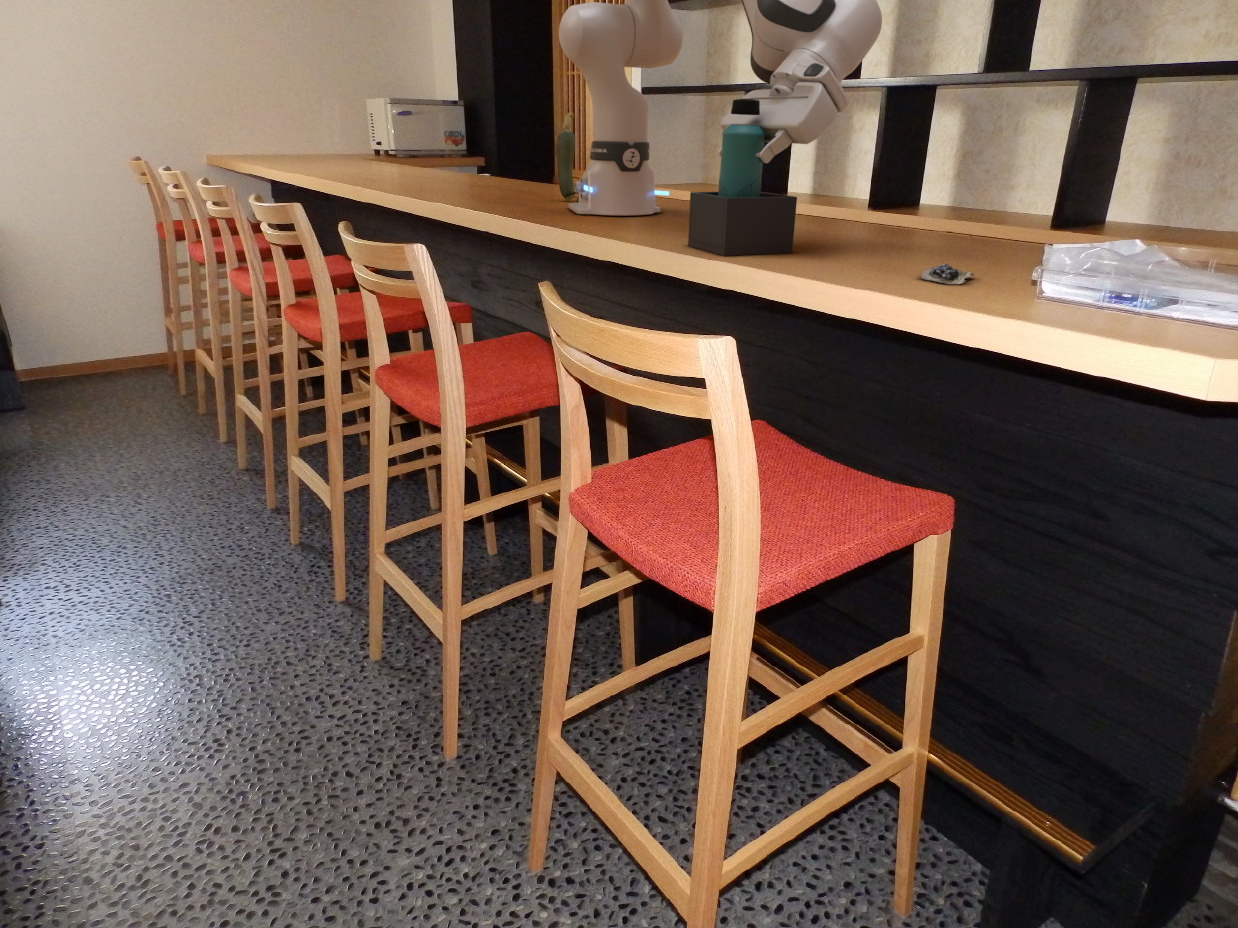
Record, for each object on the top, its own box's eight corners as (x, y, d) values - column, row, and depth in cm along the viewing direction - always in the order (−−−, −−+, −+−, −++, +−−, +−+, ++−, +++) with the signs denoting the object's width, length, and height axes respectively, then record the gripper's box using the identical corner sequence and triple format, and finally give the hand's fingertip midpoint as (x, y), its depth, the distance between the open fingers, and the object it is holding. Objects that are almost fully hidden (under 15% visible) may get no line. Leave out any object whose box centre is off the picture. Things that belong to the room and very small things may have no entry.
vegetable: (555, 202, 202) (554, 111, 194) (559, 200, 206) (558, 112, 198) (573, 202, 201) (573, 112, 194) (577, 201, 205) (577, 112, 198)
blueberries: (971, 275, 108) (974, 260, 107) (982, 286, 101) (984, 270, 100) (916, 273, 109) (918, 258, 109) (923, 283, 102) (925, 267, 101)
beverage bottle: (755, 245, 125) (769, 99, 117) (711, 242, 127) (722, 98, 118) (757, 238, 131) (771, 99, 123) (715, 236, 132) (726, 98, 124)
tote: (687, 245, 131) (690, 192, 128) (752, 243, 135) (755, 191, 132) (724, 256, 121) (727, 198, 118) (792, 252, 125) (797, 197, 122)
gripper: (747, 73, 130) (691, 140, 130) (836, 67, 114) (772, 144, 113) (768, 105, 134) (713, 170, 133) (857, 103, 117) (795, 178, 117)
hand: (741, 158), depth 123 cm, fingers open, 8 cm apart
